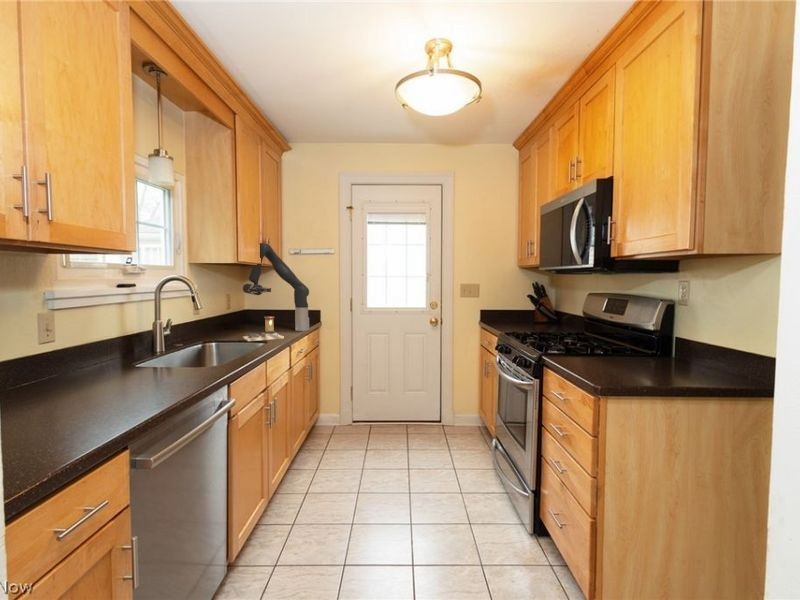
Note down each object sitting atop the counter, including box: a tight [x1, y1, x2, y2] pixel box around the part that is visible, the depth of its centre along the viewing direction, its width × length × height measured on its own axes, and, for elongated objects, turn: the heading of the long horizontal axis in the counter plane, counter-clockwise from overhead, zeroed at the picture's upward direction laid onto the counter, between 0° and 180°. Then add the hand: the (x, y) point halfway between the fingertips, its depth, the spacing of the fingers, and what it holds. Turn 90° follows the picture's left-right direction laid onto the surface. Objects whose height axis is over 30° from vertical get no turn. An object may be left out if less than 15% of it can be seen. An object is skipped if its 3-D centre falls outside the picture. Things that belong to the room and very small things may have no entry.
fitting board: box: [242, 331, 285, 342], centre depth 254 cm, size 22×13×3 cm, turn 124°
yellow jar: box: [264, 316, 275, 334], centre depth 256 cm, size 6×6×12 cm
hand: (262, 290), depth 271 cm, fingers open, 8 cm apart
